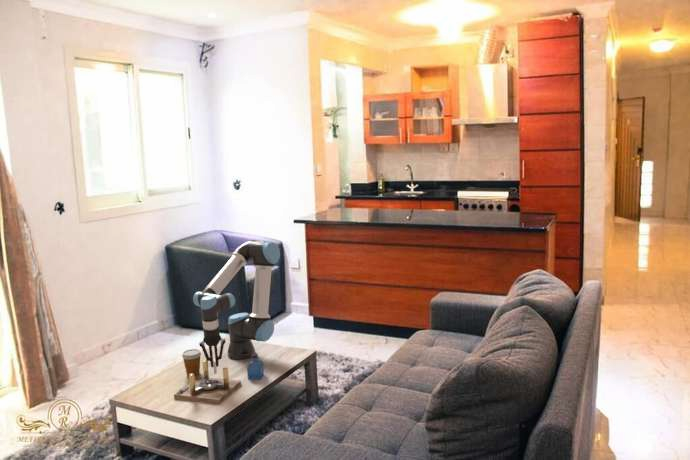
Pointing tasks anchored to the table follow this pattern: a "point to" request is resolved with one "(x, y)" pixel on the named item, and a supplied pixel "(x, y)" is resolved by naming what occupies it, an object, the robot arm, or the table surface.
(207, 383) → the capstan
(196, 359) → the disposable coffee cup
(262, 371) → the perfume bottle
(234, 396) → the table surface
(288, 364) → the table surface
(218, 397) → the stand
